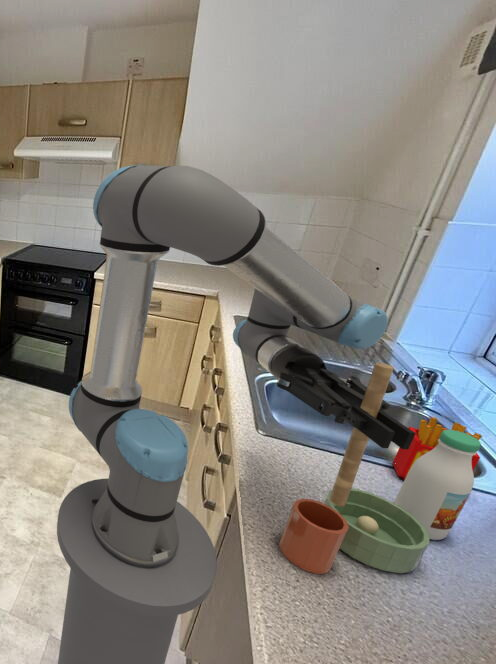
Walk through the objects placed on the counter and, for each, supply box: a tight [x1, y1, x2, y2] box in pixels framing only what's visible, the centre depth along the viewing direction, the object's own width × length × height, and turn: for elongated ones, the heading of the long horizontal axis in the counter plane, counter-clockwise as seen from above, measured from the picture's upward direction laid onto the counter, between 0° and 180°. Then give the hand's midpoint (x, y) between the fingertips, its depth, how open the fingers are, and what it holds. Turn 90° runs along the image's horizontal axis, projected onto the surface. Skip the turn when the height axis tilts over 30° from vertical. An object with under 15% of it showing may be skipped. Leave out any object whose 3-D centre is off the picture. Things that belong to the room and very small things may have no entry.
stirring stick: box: [330, 362, 395, 506], centre depth 63 cm, size 2×2×24 cm
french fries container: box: [391, 416, 483, 481], centre depth 87 cm, size 7×9×14 cm
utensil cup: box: [279, 498, 349, 575], centre depth 70 cm, size 7×7×9 cm
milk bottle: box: [393, 429, 482, 541], centre depth 75 cm, size 8×8×20 cm
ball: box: [356, 516, 379, 534], centre depth 75 cm, size 3×3×3 cm
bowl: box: [323, 487, 431, 574], centre depth 73 cm, size 13×13×6 cm
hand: (398, 440), depth 56 cm, fingers closed on stirring stick, 2 cm apart
